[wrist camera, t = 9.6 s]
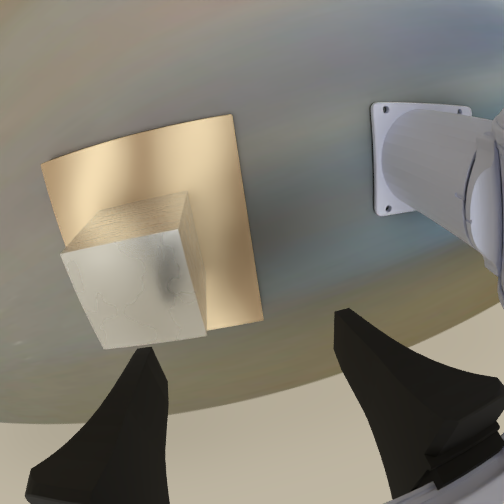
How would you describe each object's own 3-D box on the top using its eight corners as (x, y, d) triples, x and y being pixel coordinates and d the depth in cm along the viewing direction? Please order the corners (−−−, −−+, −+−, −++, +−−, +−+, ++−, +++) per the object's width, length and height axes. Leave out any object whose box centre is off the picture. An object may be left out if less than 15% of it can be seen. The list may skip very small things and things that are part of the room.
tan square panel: (230, 114, 18) (239, 116, 12) (260, 308, 24) (275, 364, 18) (50, 159, 17) (1, 182, 12) (112, 331, 23) (95, 386, 18)
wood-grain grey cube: (187, 190, 18) (178, 229, 12) (206, 274, 20) (206, 335, 15) (99, 210, 17) (60, 254, 12) (125, 288, 20) (104, 349, 15)
